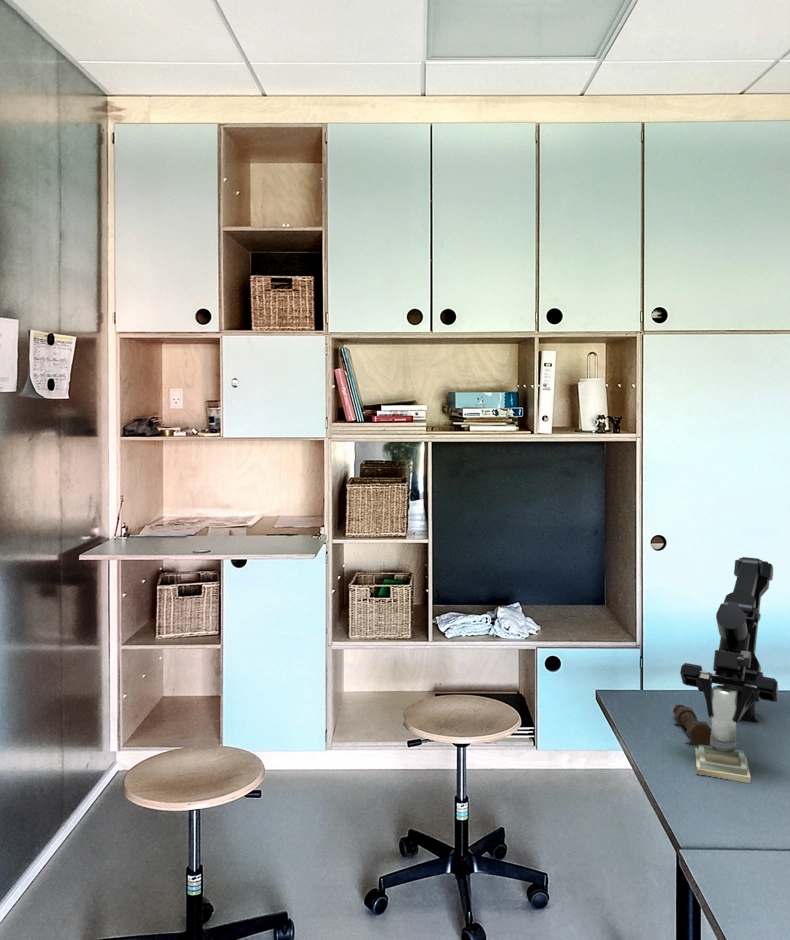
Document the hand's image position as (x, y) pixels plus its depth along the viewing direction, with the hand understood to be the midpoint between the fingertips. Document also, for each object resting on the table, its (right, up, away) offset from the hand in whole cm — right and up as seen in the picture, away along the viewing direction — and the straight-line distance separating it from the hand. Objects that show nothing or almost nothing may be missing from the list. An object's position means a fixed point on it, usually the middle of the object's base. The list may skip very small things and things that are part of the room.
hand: (722, 719), depth 155 cm
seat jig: (+1, -11, +2) cm, 11 cm away
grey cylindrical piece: (+1, -6, +2) cm, 7 cm away
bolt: (+1, -10, +20) cm, 22 cm away
